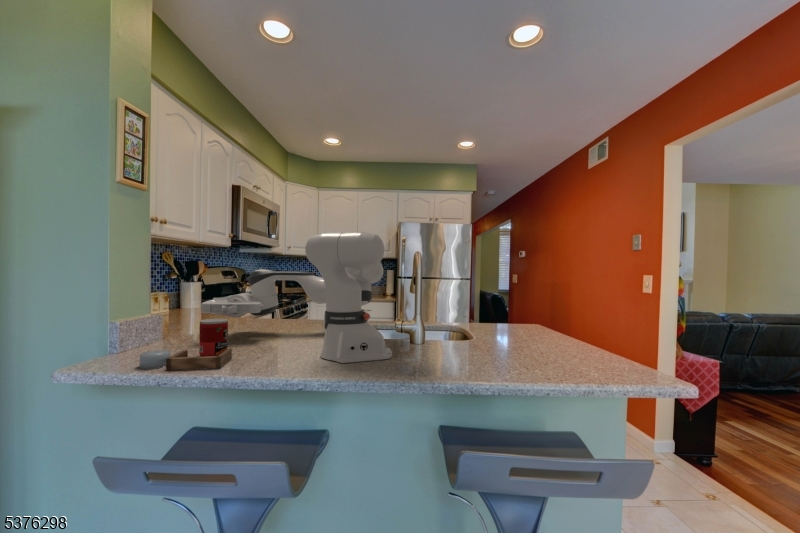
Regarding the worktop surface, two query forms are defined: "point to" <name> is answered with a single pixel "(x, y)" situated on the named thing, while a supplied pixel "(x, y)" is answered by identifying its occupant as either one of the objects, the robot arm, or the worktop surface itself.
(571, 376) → the worktop surface
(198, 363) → the bay
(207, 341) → the canned food
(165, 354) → the grey rounded cylinder
